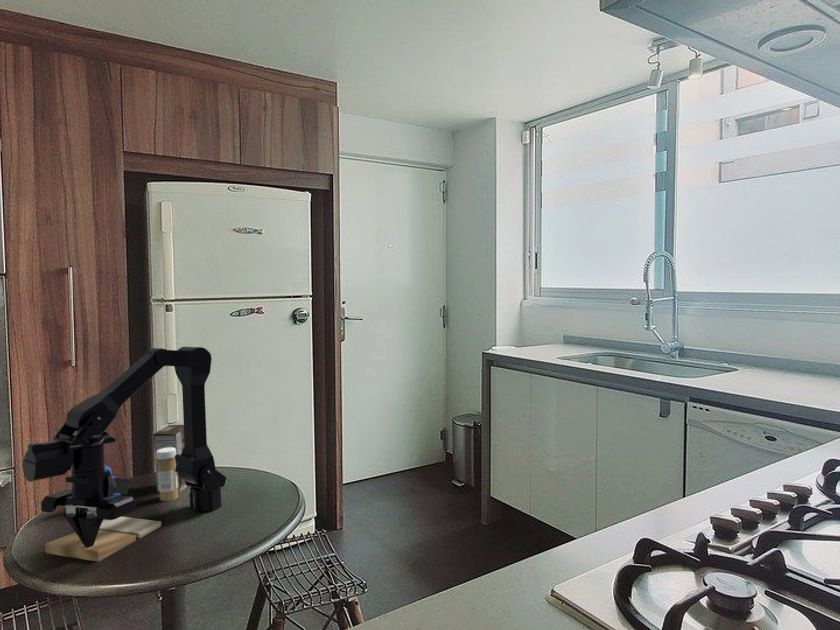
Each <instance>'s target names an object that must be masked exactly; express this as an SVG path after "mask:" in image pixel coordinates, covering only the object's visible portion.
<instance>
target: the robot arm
mask: <svg viewBox="0 0 840 630" xmlns="http://www.w3.org/2000/svg"><path fill="white" fill-rule="evenodd" d="M211 366H212V354H211V352H210V351H209V350H208V349H207V348H205V347H201V346H200V347H199V346H181V347H179V348H178V349H177V350H173V349H172V350H171V349H166V348H157V347H153V348H152V347H151V348H149V349H148V350H146V352H145V353H144V354H143V355H142V356H141V357H139V359H137V360H136V361H135V362H134V363H133V364H132V365H131V366H130V367H129V368H128V369H126V370H125V371H124V372H123V373H122V374H121V375H120V376H119V377H117V378H116V379H115V380H114V381H112V383H110V384H109V385H108V386H107V387H106V388H104V390H102V391H100V392H98V393H96V394H94V395H92V396H90V397H88V398H86V399H84V400H82V401H80V402H79V403H77V404H76V405H74V406H73V407H71V408H70V410H69V411H68V412H67V413H66V416H65V417H66V419H65V422H63V425H62V426H61V427H60V429H59V430H58V431H57V433H56V434H55V435H54V437H53V440H50V441H44V442H32V443H28V444H27V451H26V452H25V454H24V457H23V460H22V463H21V465H22V471H23V476H24V478H25V480H26V481H27V482H29V483H31V482H35V481H36V482H37V481H40V480H45V479H49V478H54V477H58V476H59V477H60V476H62V475H66V474H67V473H68V471H70V472H71V473H70V475H67V476H65V483H71V487H70V488H71V489H63V490H60V491H57V492H54V493H52V494H48V495H46V496H44V497H43V499H42V501H41V502H40V509H41V510H40V511H41V512H42V513H43V512H44V513H54V512H55V511H56V510H57V507H59V506H61V507H64V508H65V509H66V510H65V511H66V513H65V514H63V515H62V518H63V519H65V520H66V521H67V522H68V525H70V526H71V528H72V529H73V531H74V532H76V534H77V535H78V537H79V538H80V540H81V541H82V543H83V545H84V546H85V547H87V548H89V547H91V546H93V545H94V542H95V540H96V537H97V534H98V531H99V529H100V526H101V524H102V522H103V520H114V519H117V518H119V517H125V516H126V515H129V514H131V513H133V512H135V511H137V499H136V498H135V497H133V496H128V492H129V487H130V483H131V478H123V477H122V478H121V477H120V478H119V477H116V478H113V477H111V476H112V474H111V472H110V471H108V470H105V465H106V462H105V461H106V459H105V454H106V453H105V445H106V444H112V443H115V442H117V439H116V438H115V437H114V436H112V435H111V434H109V432H108V431H107V429H108V428H109V426H110V425H111V424H112V423H113V422H114V420H115V419H116V417H117V415H118V413H119V411H120V409H121V407H122V406H123V405H124V404H125V402H127V401H128V400H129V399H131V397H132V396H133V395H134V394H135V393H137V392H138V391H139V390H140V389H142V387H143V386H144V385H145V384H146V383H148V381H149V380H151V378H153V377H154V376H155V375H156V374H157V373H159V372H160V371H161V370H162V368H164V367H174V371H175V375H176V377H177V378H178V381H179V382H180V385H181V387H182V388H181V390H182V392H181V393H182V411H183V413H182V415H183V416H182V417H183V425H184V443H185V445H184V448H183V451H182V453H181V454H177V455H175V460H176V469H175V472H178V476H179V478H181V479H182V480H183V481H184V482H185V484H186V486H187V487H189V490H190V492H189V494H188V495H189V509H191V510H193V511H194V513H200V514H202V513H210V512H211V513H213V512H215V511H217V510H218V509H220V508H222V493H221V492H222V490H221V489H222V488H223V487H225V484H226V481H227V477H226V476H225V475H224V474H222V473H221V472H219V470H217V468H216V462H215V458H214V455H213V454H212V453H213V452H212V451H211V449H210V447H209V446H208V442H207V441H208V439H207V437H208V436H207V418H206V417H207V413H206V390H205V387H206V381H207V380H208V378H209V376H210V373H211V368H212V367H211ZM75 433H76V434H75ZM113 493H121V494H122V495H119V496H116V497H113V498H111V499H108V500H105V498H106V497H111V496H113Z"/></svg>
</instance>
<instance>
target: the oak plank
mask: <svg viewBox="0 0 840 630" xmlns="http://www.w3.org/2000/svg"><path fill="white" fill-rule="evenodd" d="M136 541H137V538H136V535H130V534H122V533H115V532H108V531H100V530H99V531H98V534H97V537H96V540H95V542H94V545H93V546H91V547H89V548H87V547H85V546H84V545H83V543H82V541H81V540H80V538H79V537H78V535H77V534H76V532H75V531H74V532H73V533H69V534H66V535H64V536H61V537H59V538H56V539H53V540H51V541H48V542H45V543H44V544H45V545H44V550H45V551H44V553H45V554H49V555H54V556H55V555H56V556H61V557H67V558H73V559H81V560H86V561H93V562H100V561H103V560H104V559H105V558H107V557H109V556H111V555H113V554H114V553H116V552H118V551H121V549H124V548H126V547H127V546H129V545H130V544H132V543H134V542H136Z"/></svg>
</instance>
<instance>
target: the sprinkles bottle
mask: <svg viewBox="0 0 840 630" xmlns="http://www.w3.org/2000/svg"><path fill="white" fill-rule="evenodd" d="M175 455H176V449H175V448H173V447H168V448H162V449H159V450H157V451H156V458H157V463H158V484H159V493H158V494H159V501H161V502H170V501H174V500H177V498H179V493H178V481H177V472H175V469H176V460H175Z"/></svg>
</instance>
